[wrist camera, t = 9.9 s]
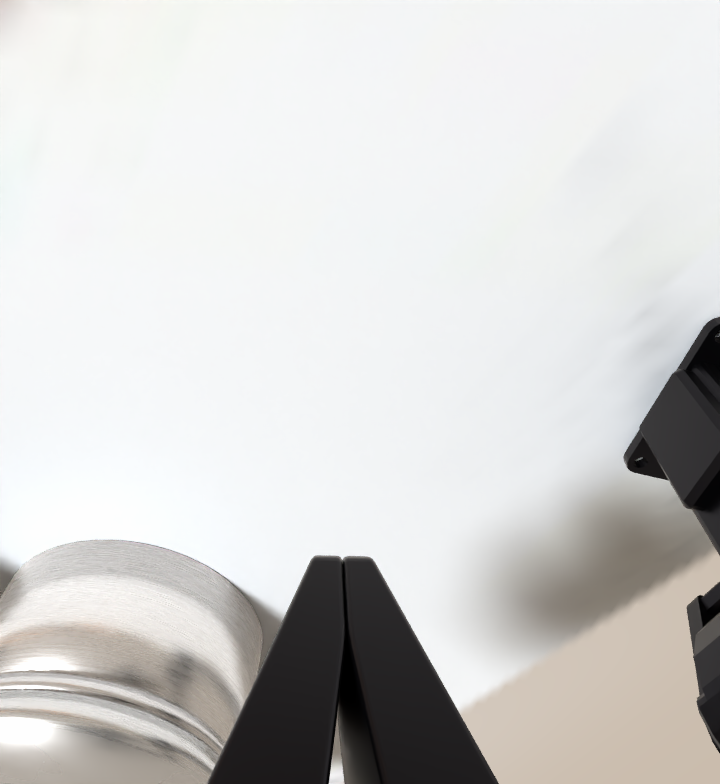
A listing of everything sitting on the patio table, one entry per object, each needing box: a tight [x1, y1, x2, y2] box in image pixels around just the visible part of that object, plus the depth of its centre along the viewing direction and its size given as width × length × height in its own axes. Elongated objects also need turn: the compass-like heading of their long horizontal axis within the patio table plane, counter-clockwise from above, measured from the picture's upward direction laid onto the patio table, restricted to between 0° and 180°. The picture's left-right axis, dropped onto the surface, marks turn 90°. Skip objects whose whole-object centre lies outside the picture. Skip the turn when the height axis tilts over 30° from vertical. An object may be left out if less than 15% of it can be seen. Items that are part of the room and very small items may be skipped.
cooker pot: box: [0, 540, 263, 756], centre depth 27 cm, size 22×13×7 cm, turn 51°
